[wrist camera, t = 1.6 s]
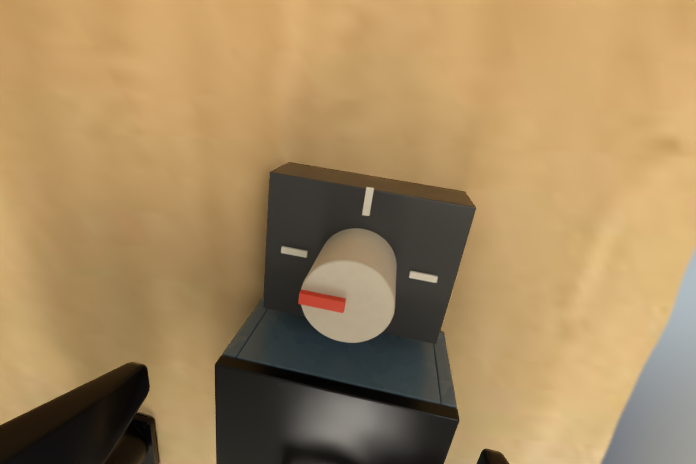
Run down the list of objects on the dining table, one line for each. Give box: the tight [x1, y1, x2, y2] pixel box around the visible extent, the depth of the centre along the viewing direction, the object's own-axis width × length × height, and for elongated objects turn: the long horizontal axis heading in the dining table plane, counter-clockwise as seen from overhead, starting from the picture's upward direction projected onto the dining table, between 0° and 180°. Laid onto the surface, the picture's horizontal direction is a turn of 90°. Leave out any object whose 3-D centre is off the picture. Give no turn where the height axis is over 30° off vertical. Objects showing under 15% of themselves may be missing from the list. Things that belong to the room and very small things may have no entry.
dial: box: [298, 228, 397, 343], centre depth 16 cm, size 4×4×4 cm
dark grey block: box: [222, 297, 457, 408], centre depth 22 cm, size 12×12×6 cm
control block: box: [263, 162, 476, 344], centre depth 19 cm, size 10×8×3 cm
